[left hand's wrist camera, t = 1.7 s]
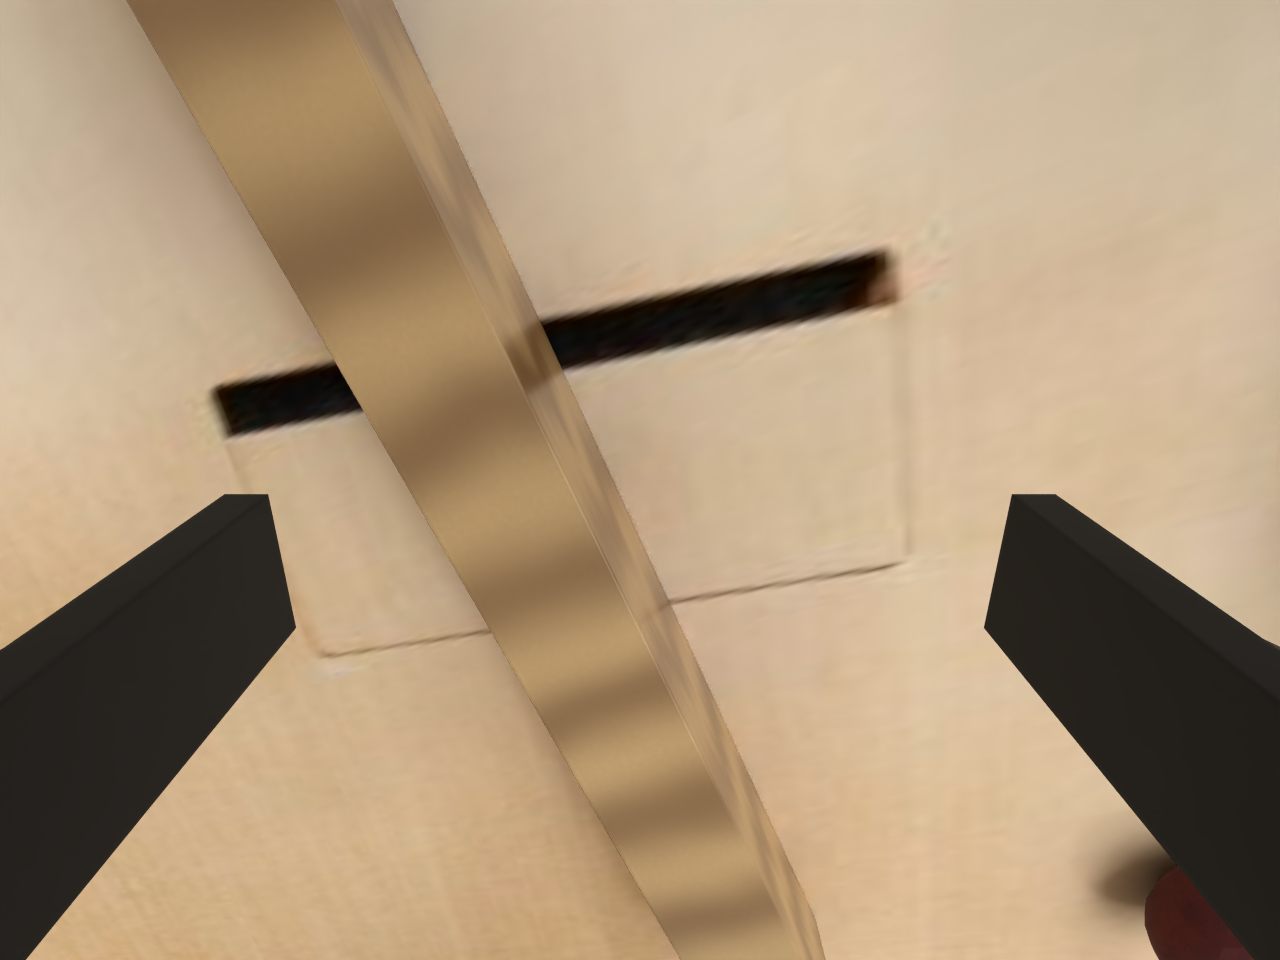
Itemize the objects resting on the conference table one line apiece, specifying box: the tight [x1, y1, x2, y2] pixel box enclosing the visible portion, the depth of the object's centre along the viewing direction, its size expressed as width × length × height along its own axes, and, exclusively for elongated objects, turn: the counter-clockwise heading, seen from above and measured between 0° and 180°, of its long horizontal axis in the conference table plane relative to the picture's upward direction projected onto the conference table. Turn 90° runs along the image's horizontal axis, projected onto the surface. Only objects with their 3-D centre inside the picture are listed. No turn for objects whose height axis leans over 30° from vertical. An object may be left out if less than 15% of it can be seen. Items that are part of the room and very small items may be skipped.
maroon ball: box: [1145, 866, 1254, 960], centre depth 41 cm, size 7×8×7 cm
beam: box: [127, 0, 826, 960], centre depth 31 cm, size 67×6×8 cm, turn 23°
